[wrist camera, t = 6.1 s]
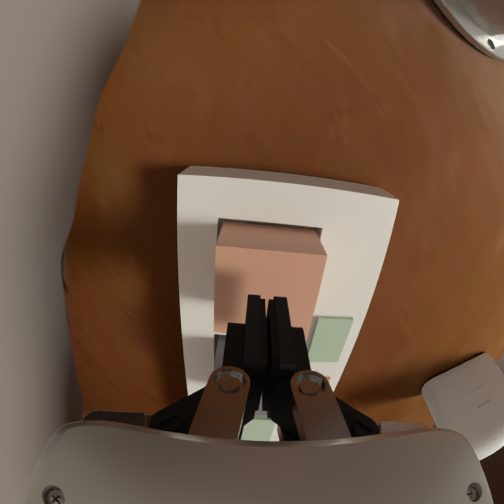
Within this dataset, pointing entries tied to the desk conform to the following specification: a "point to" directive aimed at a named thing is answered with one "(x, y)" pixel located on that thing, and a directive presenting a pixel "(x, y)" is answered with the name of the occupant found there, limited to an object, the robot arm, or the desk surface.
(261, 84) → the desk surface
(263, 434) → the sage key
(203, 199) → the white flat slab
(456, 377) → the photo printer
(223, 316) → the terracotta key
